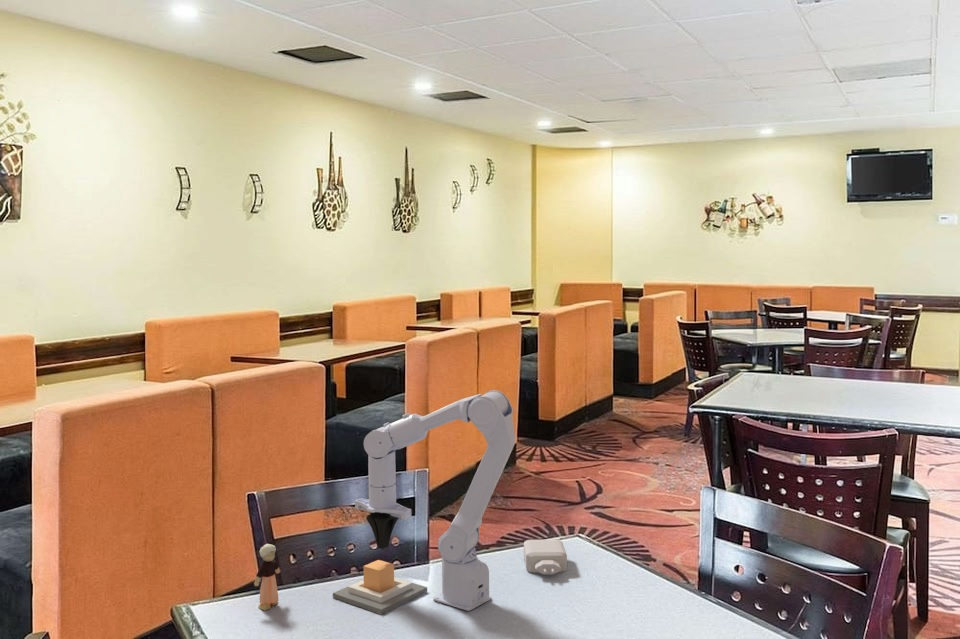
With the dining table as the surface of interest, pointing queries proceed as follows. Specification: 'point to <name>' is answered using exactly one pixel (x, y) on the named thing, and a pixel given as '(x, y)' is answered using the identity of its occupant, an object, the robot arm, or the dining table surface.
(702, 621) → the dining table surface
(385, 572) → the block
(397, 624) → the dining table surface
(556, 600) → the dining table surface
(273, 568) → the grandmother figurine
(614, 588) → the dining table surface
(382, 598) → the socket plate
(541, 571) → the charger
